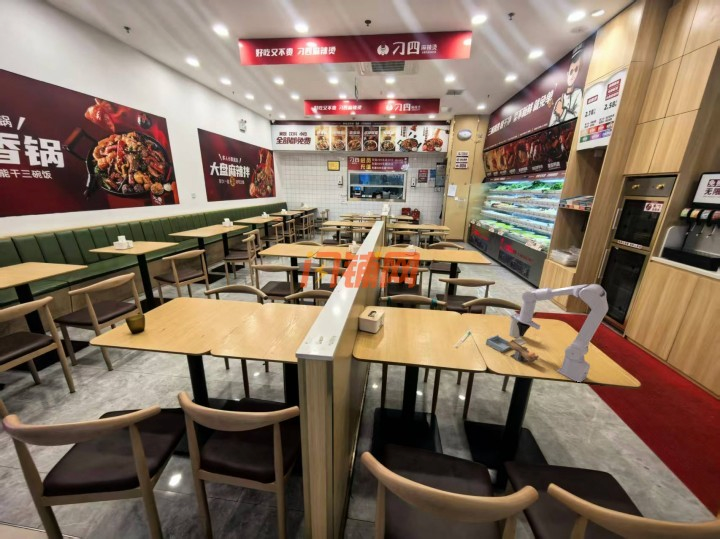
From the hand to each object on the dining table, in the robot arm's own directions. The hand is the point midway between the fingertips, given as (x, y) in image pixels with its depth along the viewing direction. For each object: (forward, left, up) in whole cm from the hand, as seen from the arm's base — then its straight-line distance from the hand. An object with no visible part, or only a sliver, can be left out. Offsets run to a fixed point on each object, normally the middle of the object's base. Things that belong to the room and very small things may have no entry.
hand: (521, 335), depth 149 cm
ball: (-10, +7, -3) cm, 13 cm away
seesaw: (-5, +4, -5) cm, 8 cm away
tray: (+7, +7, -8) cm, 13 cm away
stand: (-5, +7, -8) cm, 12 cm away
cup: (+10, -13, -9) cm, 18 cm away
